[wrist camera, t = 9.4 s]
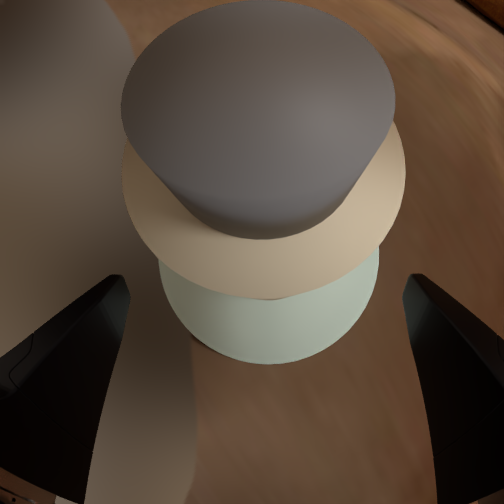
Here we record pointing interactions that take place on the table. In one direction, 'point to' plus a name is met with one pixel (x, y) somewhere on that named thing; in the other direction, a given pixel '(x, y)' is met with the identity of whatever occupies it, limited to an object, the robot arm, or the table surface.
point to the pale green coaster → (272, 316)
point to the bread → (490, 9)
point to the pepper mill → (261, 148)
